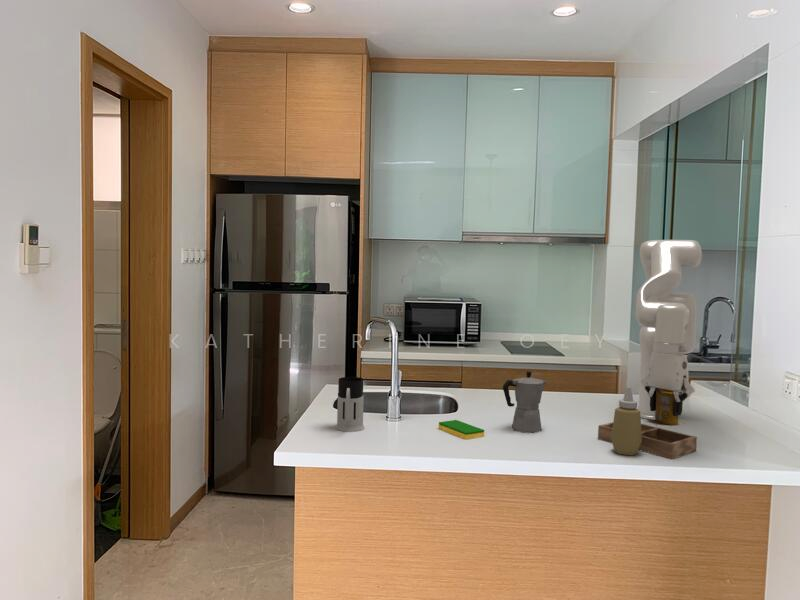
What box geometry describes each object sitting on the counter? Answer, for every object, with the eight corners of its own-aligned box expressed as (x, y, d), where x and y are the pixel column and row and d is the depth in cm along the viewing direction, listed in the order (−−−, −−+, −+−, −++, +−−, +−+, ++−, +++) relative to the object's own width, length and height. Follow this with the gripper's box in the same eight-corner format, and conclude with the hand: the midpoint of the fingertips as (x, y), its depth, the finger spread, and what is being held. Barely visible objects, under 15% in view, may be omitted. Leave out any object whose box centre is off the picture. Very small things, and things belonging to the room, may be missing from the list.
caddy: (623, 432, 199) (623, 419, 199) (696, 451, 181) (696, 437, 181) (597, 438, 191) (598, 425, 191) (671, 459, 173) (672, 444, 173)
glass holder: (365, 424, 201) (366, 376, 200) (361, 437, 187) (362, 386, 186) (337, 423, 201) (338, 376, 200) (331, 436, 187) (332, 385, 186)
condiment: (684, 424, 180) (687, 381, 180) (666, 428, 176) (668, 384, 175) (661, 418, 187) (663, 377, 186) (643, 422, 182) (645, 379, 181)
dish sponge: (465, 441, 187) (466, 432, 187) (437, 429, 199) (438, 421, 198) (484, 438, 191) (485, 429, 191) (456, 427, 202) (456, 419, 202)
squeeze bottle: (605, 448, 182) (608, 384, 180) (633, 448, 182) (636, 385, 181) (617, 457, 174) (620, 390, 172) (646, 457, 174) (649, 391, 173)
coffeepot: (536, 423, 207) (539, 368, 206) (553, 431, 198) (555, 373, 197) (494, 427, 202) (496, 369, 201) (509, 435, 193) (511, 375, 192)
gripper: (706, 352, 175) (702, 417, 176) (647, 344, 189) (644, 405, 190) (691, 353, 171) (688, 421, 172) (633, 346, 184) (630, 408, 185)
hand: (665, 412), depth 181 cm, fingers closed on condiment, 6 cm apart
